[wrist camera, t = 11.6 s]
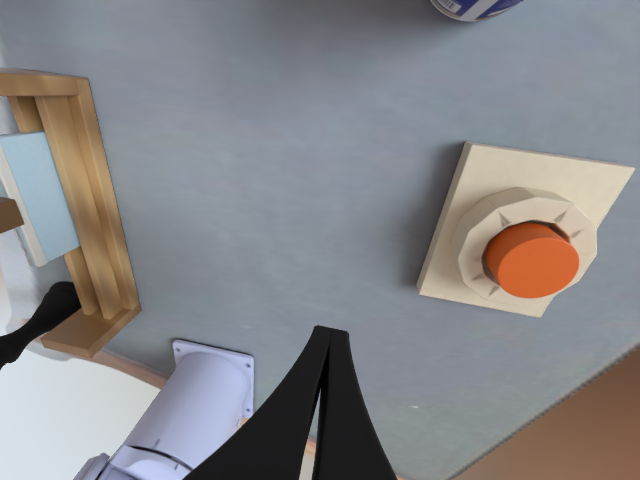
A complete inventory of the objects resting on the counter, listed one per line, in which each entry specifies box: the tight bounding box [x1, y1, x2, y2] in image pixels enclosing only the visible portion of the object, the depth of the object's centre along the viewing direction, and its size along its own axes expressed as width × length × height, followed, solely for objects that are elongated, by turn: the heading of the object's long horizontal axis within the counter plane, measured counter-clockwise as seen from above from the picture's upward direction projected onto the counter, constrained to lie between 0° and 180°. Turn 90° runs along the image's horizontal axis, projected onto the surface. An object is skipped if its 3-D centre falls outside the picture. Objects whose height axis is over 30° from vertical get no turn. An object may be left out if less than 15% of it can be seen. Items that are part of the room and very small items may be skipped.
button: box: [485, 223, 579, 299], centre depth 15 cm, size 4×4×2 cm
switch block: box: [417, 141, 635, 318], centre depth 17 cm, size 10×8×3 cm
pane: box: [0, 130, 81, 268], centre depth 17 cm, size 8×1×6 cm, turn 173°
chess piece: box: [0, 282, 82, 370], centre depth 23 cm, size 4×4×10 cm
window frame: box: [0, 68, 141, 358], centre depth 20 cm, size 19×4×6 cm, turn 173°
